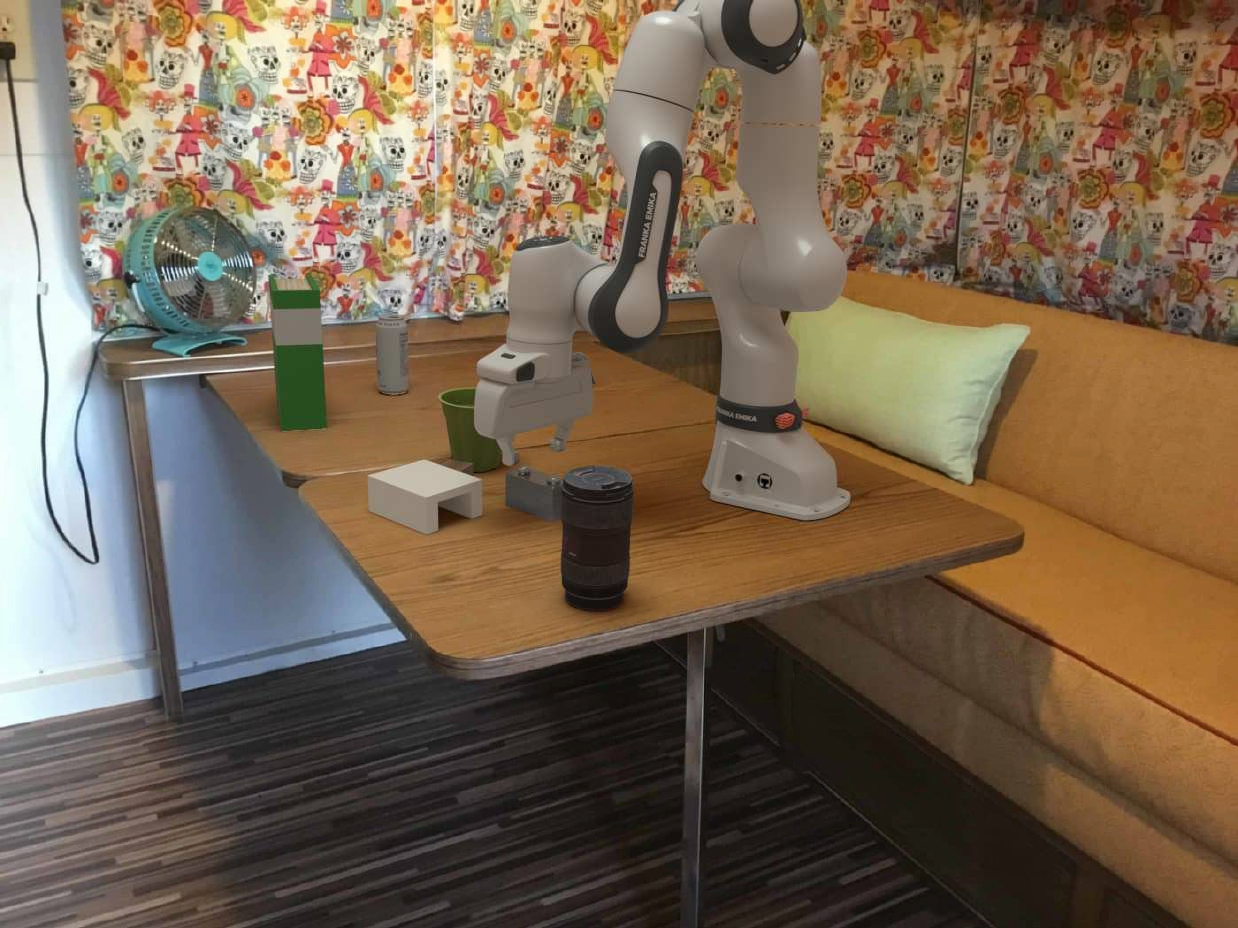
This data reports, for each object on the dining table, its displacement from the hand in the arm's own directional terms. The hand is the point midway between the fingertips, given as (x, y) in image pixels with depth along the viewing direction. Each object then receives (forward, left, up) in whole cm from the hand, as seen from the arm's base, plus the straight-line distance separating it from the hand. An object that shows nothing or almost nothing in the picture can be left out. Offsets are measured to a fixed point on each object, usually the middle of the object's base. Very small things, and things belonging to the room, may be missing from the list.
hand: (534, 457), depth 142 cm
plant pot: (+20, -8, -8) cm, 23 cm away
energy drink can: (+64, -27, -8) cm, 69 cm away
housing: (0, -1, -8) cm, 8 cm away
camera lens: (-24, +15, -8) cm, 30 cm away
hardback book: (+61, -4, -8) cm, 62 cm away
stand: (+10, +11, -8) cm, 17 cm away
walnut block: (+14, +2, -8) cm, 16 cm away
